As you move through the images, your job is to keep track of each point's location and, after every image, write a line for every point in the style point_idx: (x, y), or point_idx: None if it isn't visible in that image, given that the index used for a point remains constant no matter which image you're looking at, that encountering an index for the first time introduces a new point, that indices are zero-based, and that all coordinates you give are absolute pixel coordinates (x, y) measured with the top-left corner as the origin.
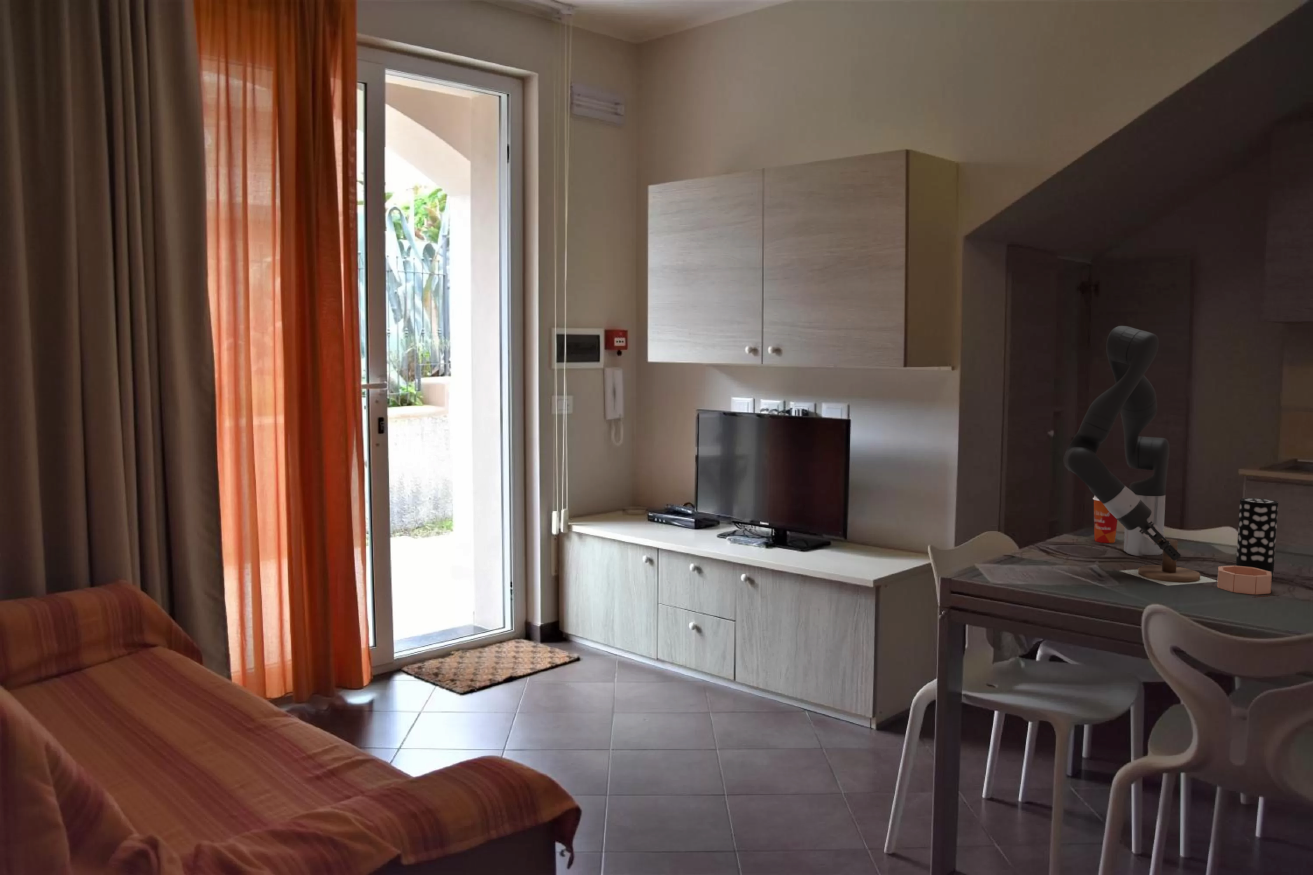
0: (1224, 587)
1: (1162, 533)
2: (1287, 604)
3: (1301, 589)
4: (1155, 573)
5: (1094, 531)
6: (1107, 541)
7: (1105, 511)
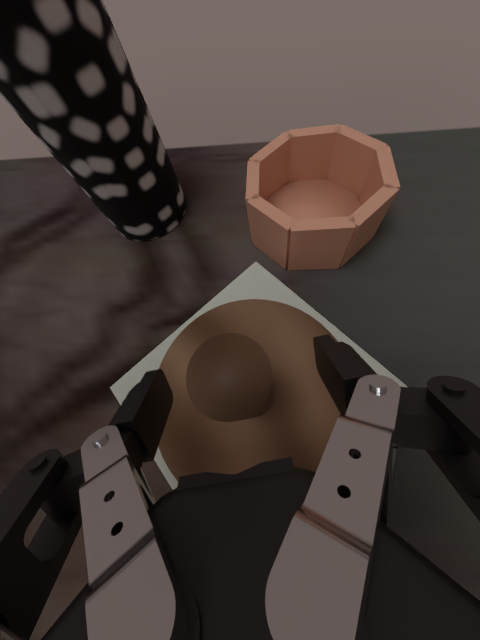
0: (358, 245)
1: (390, 447)
2: (391, 151)
3: (224, 145)
4: (320, 444)
5: None
6: None
7: None
